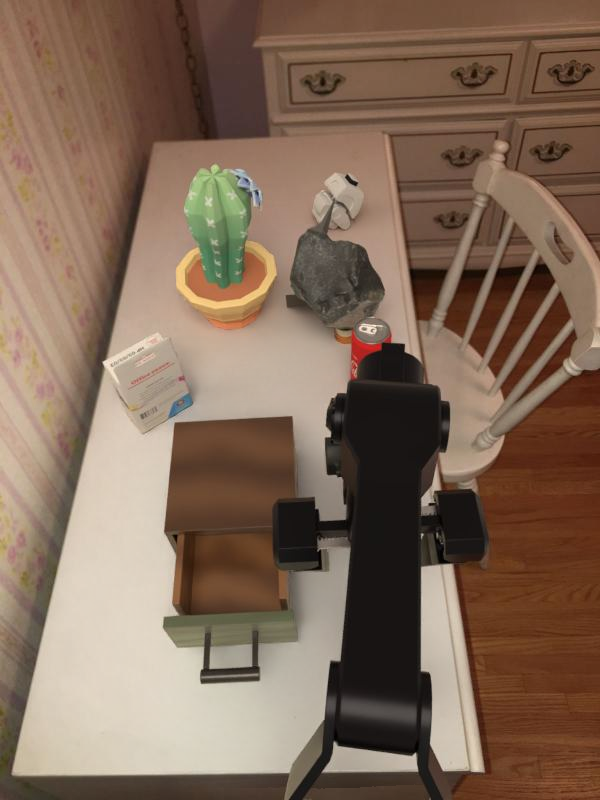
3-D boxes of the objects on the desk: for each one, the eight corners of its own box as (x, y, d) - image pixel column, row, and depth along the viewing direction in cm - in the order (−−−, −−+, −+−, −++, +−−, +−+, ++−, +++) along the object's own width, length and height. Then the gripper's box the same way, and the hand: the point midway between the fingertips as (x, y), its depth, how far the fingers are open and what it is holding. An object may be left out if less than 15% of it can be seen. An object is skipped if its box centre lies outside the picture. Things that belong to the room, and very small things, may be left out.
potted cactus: (273, 348, 98) (256, 213, 77) (174, 342, 99) (133, 208, 79) (287, 277, 107) (275, 139, 86) (196, 272, 108) (163, 136, 88)
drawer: (298, 689, 68) (295, 672, 62) (173, 695, 69) (158, 679, 63) (293, 529, 79) (290, 501, 73) (185, 534, 79) (173, 508, 73)
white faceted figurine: (340, 240, 114) (375, 193, 109) (313, 229, 110) (348, 180, 105) (326, 220, 117) (360, 175, 112) (300, 209, 113) (333, 161, 108)
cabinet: (300, 557, 78) (296, 525, 71) (180, 563, 78) (163, 532, 71) (296, 454, 87) (292, 415, 79) (188, 459, 87) (174, 422, 79)
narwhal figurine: (292, 368, 95) (284, 279, 81) (285, 295, 104) (277, 202, 90) (388, 359, 95) (397, 268, 81) (373, 287, 104) (379, 193, 90)
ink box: (176, 383, 95) (153, 313, 83) (193, 404, 92) (172, 336, 80) (125, 413, 92) (93, 345, 80) (141, 436, 89) (112, 369, 77)
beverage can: (381, 404, 91) (386, 349, 81) (345, 395, 92) (346, 340, 82) (390, 376, 93) (396, 319, 84) (355, 368, 95) (357, 311, 85)
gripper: (478, 402, 56) (452, 488, 69) (266, 414, 57) (278, 497, 69) (507, 519, 50) (472, 590, 62) (266, 531, 50) (280, 599, 63)
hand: (373, 564), depth 64 cm, fingers open, 9 cm apart
